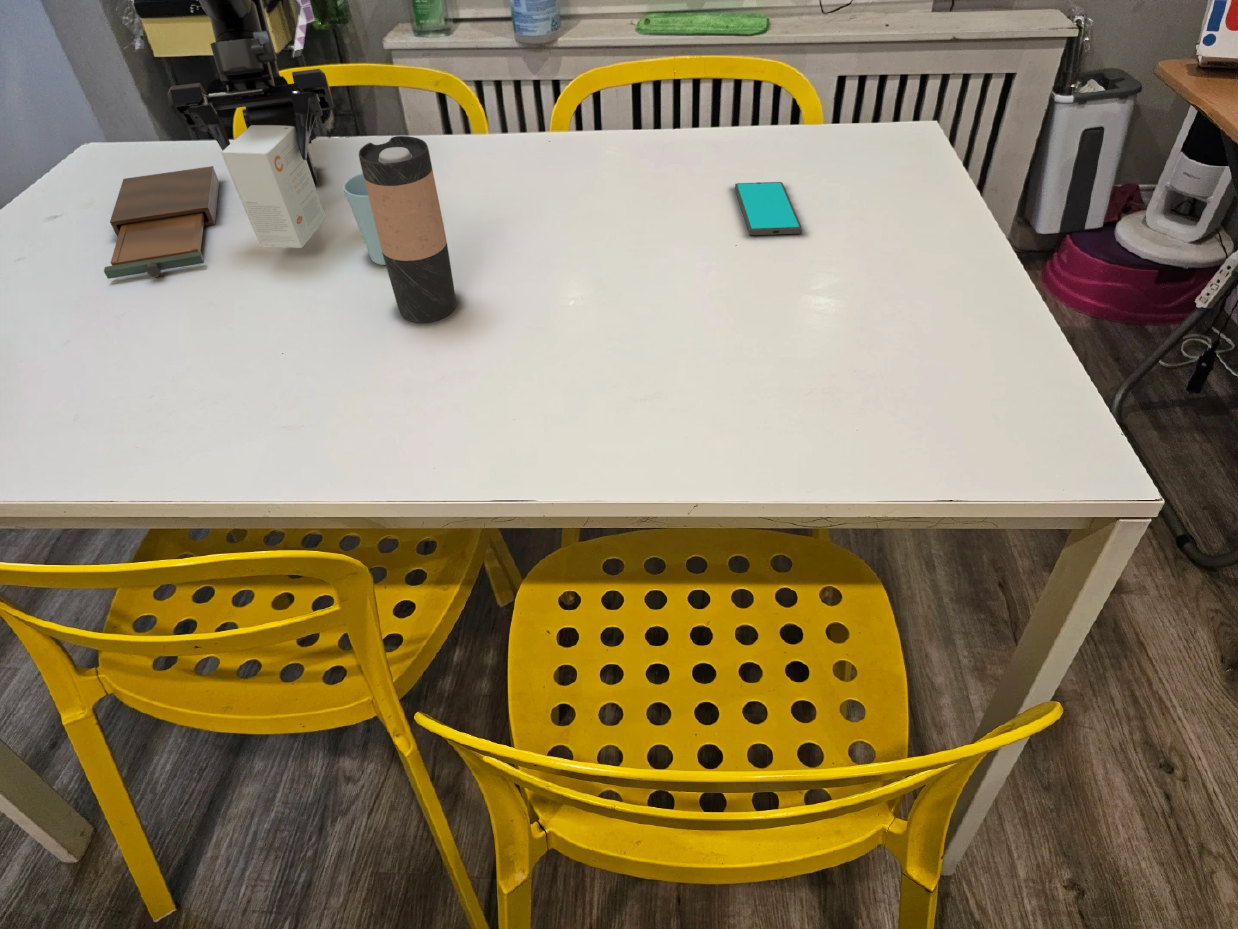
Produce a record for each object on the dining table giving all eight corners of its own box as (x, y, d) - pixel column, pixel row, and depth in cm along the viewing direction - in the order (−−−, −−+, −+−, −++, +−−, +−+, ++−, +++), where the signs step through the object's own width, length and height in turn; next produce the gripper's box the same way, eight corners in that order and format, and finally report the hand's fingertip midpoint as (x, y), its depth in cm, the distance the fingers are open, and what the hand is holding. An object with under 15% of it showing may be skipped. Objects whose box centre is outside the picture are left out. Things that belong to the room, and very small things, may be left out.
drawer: (203, 268, 107) (199, 258, 106) (107, 284, 104) (101, 274, 103) (209, 218, 118) (205, 208, 116) (122, 231, 115) (117, 221, 114)
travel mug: (445, 327, 96) (412, 165, 83) (387, 321, 98) (344, 161, 84) (466, 293, 102) (439, 137, 88) (411, 288, 103) (374, 133, 89)
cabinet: (215, 224, 117) (207, 206, 115) (118, 239, 115) (109, 221, 113) (219, 182, 128) (212, 165, 126) (131, 195, 125) (123, 178, 123)
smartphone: (750, 230, 110) (734, 183, 121) (749, 235, 111) (734, 188, 122) (802, 228, 110) (782, 181, 121) (801, 233, 111) (782, 186, 122)
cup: (415, 268, 107) (399, 193, 100) (358, 271, 107) (337, 197, 99) (422, 240, 112) (406, 168, 105) (368, 243, 112) (348, 171, 105)
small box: (285, 216, 111) (250, 123, 102) (327, 218, 110) (296, 124, 101) (258, 246, 106) (218, 151, 96) (302, 249, 105) (267, 152, 96)
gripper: (136, 13, 91) (169, 147, 91) (304, -4, 95) (335, 125, 95) (170, 64, 102) (199, 184, 102) (320, 47, 105) (347, 162, 106)
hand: (269, 163), depth 101 cm, fingers closed on small box, 8 cm apart
